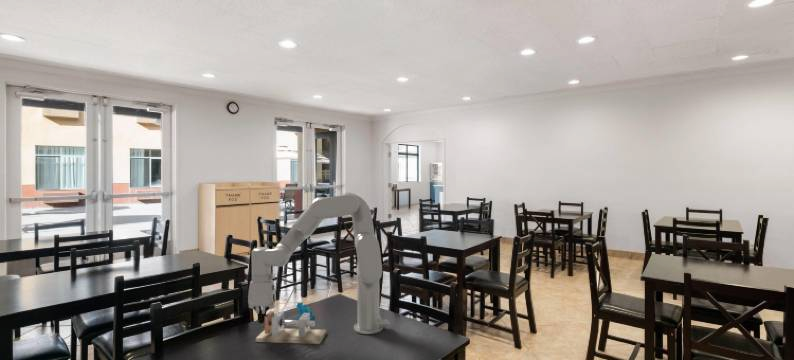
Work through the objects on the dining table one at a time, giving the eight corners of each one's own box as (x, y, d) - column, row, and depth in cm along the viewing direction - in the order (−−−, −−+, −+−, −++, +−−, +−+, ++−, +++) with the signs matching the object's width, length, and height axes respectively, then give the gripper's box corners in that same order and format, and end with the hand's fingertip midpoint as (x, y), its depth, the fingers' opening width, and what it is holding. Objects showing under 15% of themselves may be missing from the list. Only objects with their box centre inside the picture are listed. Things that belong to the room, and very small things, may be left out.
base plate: (326, 333, 164) (326, 329, 164) (319, 343, 154) (319, 340, 154) (265, 331, 166) (265, 328, 166) (255, 341, 156) (255, 338, 156)
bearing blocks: (309, 330, 163) (309, 312, 163) (304, 337, 156) (304, 319, 156) (278, 329, 164) (278, 312, 164) (271, 336, 157) (271, 318, 157)
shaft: (316, 329, 162) (316, 312, 162) (312, 335, 156) (312, 317, 156) (270, 327, 163) (270, 311, 163) (264, 333, 157) (264, 316, 157)
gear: (310, 320, 173) (295, 303, 175) (300, 329, 174) (286, 312, 175) (318, 314, 184) (304, 298, 186) (309, 323, 184) (295, 307, 186)
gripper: (282, 275, 163) (283, 319, 164) (248, 275, 164) (248, 318, 165) (275, 280, 156) (276, 326, 156) (239, 280, 157) (240, 325, 157)
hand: (262, 322), depth 161 cm, fingers closed
